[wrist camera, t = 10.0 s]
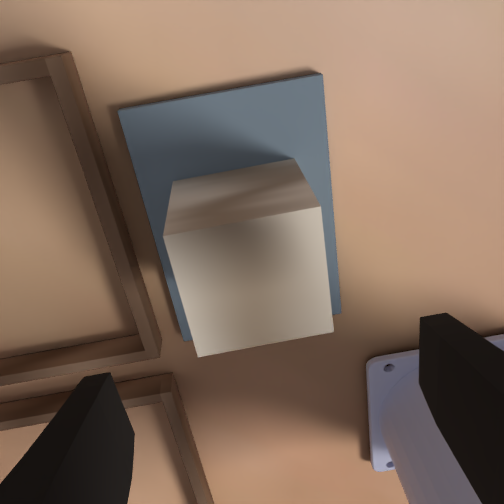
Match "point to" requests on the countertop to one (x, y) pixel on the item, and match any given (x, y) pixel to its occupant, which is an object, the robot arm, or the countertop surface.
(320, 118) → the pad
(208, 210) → the cube
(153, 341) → the tray near
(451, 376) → the robot arm
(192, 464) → the tray far
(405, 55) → the countertop surface
